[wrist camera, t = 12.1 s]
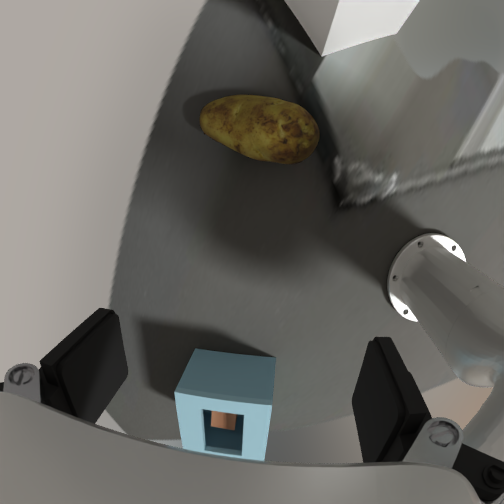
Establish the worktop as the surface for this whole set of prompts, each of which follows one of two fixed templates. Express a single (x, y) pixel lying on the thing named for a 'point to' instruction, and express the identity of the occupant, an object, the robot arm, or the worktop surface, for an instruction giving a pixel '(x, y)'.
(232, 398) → the box
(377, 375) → the robot arm
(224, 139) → the potato
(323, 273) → the worktop surface
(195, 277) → the worktop surface
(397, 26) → the milk
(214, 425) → the brown wooden block
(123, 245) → the worktop surface
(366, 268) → the worktop surface
